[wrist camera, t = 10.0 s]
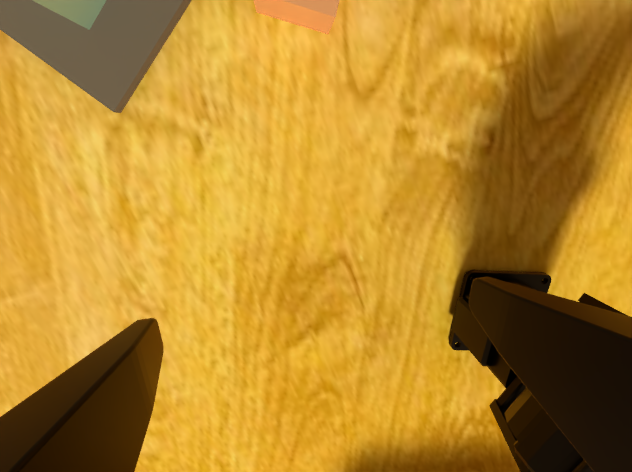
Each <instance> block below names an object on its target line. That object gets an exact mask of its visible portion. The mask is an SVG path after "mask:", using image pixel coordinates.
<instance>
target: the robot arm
mask: <svg viewBox="0 0 632 472" xmlns="http://www.w3.org/2000/svg"><path fill="white" fill-rule="evenodd" d="M472 276H474V278H473V279H471V280H470V278H471V277H472ZM542 279H543V281H542ZM550 283H551V277H550V276H549V275H547V274H546V273H542V272H513V271H483V270H470V271H468V272H466V274H465V275H464V279H463V283H462V288H461V292H460V296H459V299H458V300H457V305H456V309H455V313H454V318H453V322H452V326H451V329H452V331H451V335H450V339H449V344H450V346H451V347H452V349H454V350H470V352H471V353H472V354H473V355H474V356H475V358H476V359H477V360H478V361H479V362H480V364H481V365H482V366H487V367H488V368H489V369H490V370H491V371H492V373H493V374H494V375H495V376H496V377H497V378H498V379H499V381H500V382H501V383H502V384H503V385H504V386H505V388H506V389H505V391H504V392H503V393H502V394H501V395H500V396H499V398H498V399H494V401H493V402H492V403H491V404H490V408H491V410H492V412H493V414H494V416H495V419H496V421H497V423H498V425H499V427H500V429H501V431H502V433H503V436H504V438H505V440H506V442H507V444H508V446H509V448H510V451H511V453H512V455H513V457H514V459H515V461H516V463H517V465H518V467H519V469H520V471H521V472H632V317H630V316H627V315H625V314H624V313H622V312H620V311H618V310H616V309H614V308H612V307H610V306H608V305H606V304H604V303H602V302H600V301H599V300H597V299H595V298H593V297H591V296H589V295H587V294H585V293H584V294H583V295H582V296H581V297H580V299H579V300H578V301H579V302H576V301H573V300H569V299H566V298H562V297H558V296H555V295H551V294H548V293H547V292H548V289H549V286H550ZM456 342H458V343H457V344H455V343H456ZM162 357H163V342H162V338H161V334H160V330H159V326H158V322H157V320H156V319H154V318H149V319H141V320H137V321H136V322H134V323H133V324H131V325H130V326H129V327H127V328H126V329H124V330H123V331H122V332H120V333H119V334H117V335H116V336H114V337H113V338H112V339H110V340H109V341H107V342H106V343H105V344H103V345H102V346H100V347H99V348H97V349H96V350H95V351H93V352H92V353H90V354H89V355H87V356H86V357H85V358H83V359H82V360H80V361H79V362H78V363H76V364H75V365H73V366H72V367H70V368H69V369H68V370H66V371H65V372H63V373H62V374H61V375H59V376H58V377H56V378H55V379H53V380H52V381H51V382H49V383H48V384H46V385H45V386H44V387H42V388H41V389H39V390H38V391H36V392H35V393H34V394H32V395H31V396H29V397H28V398H27V399H25V400H24V401H22V402H21V403H19V404H18V405H17V406H15V407H14V408H12V409H11V410H9V411H8V412H7V413H5V414H4V415H2V416H1V417H0V472H134V471H135V468H136V464H137V461H138V458H139V455H140V451H141V448H142V445H143V441H144V438H145V435H146V431H147V428H148V425H149V421H150V418H151V414H152V411H153V406H154V401H155V396H156V390H157V384H158V379H159V373H160V368H161V362H162Z"/></svg>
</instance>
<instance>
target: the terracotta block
mask: <svg viewBox="0 0 632 472" xmlns="http://www.w3.org/2000/svg"><path fill="white" fill-rule="evenodd" d="M254 4H255V8H256V12H257V13H260V14H263V15H267V16H270V17H273V18H276V19H280V20H283V21H286V22H290V23H293V24H296V25H299V26H303V27H306V28H309V29H312V30H316V31H319V32H322V33H325V34H328V33H329V31H330V29H331V26H332V24H333V22H334V19H335V17H336V13H337V8H338V4H339V0H254Z"/></svg>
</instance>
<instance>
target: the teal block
mask: <svg viewBox="0 0 632 472" xmlns="http://www.w3.org/2000/svg"><path fill="white" fill-rule="evenodd" d="M33 1H34V2H36V3H38V4H40V5H42V6H44V7H46V8H48V9H50V10H52V11H54V12H56V13H58V14H60V15H61V16H63V17H65V18H67V19H69V20H71V21H73V22H75V23H77V24H79V25H81V26H83V27H85V28H87V29H88V30H90V28H91V26H92V25H93V23H94V21H95V19H96V18H97V16H98V14H99V12H100V11H101V9H102V7H103V6H104V4H105V2H106V0H33Z"/></svg>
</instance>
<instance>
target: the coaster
mask: <svg viewBox="0 0 632 472" xmlns="http://www.w3.org/2000/svg"><path fill="white" fill-rule="evenodd" d="M190 2H191V0H106V2H105V4H104V6H103V7H102V9H101V11H100V12H99V14H98V16H97V18H96V19H95V21H94V23H93V25H92V26H91V28H90V30H88V29H87V28H85V27H83V26H81V25H79V24H77V23H75V22H73V21H71V20H69V19H67V18H65V17H63V16H61V15H60V14H58V13H56V12H54V11H52V10H50V9H48V8H46V7H44V6H42V5H40V4H38V3H36V2H34V1H33V0H0V30H2V31H3V32H5V33H6V34H7V35H9V36H10V37H11V38H13V39H14V40H15V41H17V42H18V43H20V44H21V45H22V46H24V47H25V48H26V49H28V50H29V51H31V52H32V53H33V54H35V55H36V56H37V57H39V58H40V59H42V60H43V61H44V62H46V63H47V64H48V65H50V66H51V67H53V68H54V69H55V70H57V71H58V72H59V73H61V74H62V75H64V76H65V77H66V78H68V79H69V80H70V81H72V82H73V83H75V84H76V85H77V86H79V87H80V88H81V89H83V90H84V91H85V92H87V93H88V94H90V95H91V96H92V97H94V98H95V99H96V100H98V101H99V102H101V103H102V104H103V105H105V106H106V107H107V108H109V109H110V110H112V111H113V112H118V113H121V112H122V110H123V108H124V107H125V105H126V104H127V102H128V101H129V99H130V97H131V96H132V94H133V93H134V91H135V89H136V88H137V86H138V85H139V83H140V81H141V80H142V78H143V77H144V75H145V74H146V72H147V70H148V69H149V67H150V66H151V64H152V62H153V61H154V59H155V58H156V56H157V54H158V53H159V51H160V50H161V48H162V46H163V45H164V43H165V42H166V40H167V39H168V37H169V35H170V34H171V32H172V31H173V29H174V27H175V26H176V24H177V23H178V21H179V19H180V18H181V16H182V15H183V13H184V12H185V10H186V8H187V7H188V5H189V4H190Z"/></svg>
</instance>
